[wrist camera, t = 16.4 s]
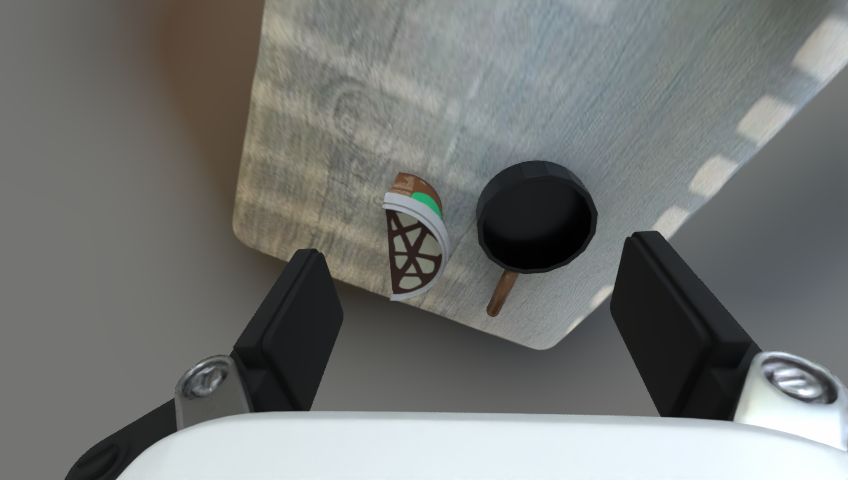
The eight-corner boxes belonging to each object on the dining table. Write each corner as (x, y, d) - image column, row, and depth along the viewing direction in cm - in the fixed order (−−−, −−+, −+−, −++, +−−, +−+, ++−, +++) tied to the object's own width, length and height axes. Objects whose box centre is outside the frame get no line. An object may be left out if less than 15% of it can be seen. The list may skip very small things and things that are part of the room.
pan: (497, 148, 37) (500, 162, 34) (606, 176, 38) (620, 193, 35) (446, 287, 49) (445, 308, 46) (531, 307, 50) (536, 329, 46)
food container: (450, 252, 46) (447, 307, 37) (402, 250, 46) (390, 304, 38) (453, 161, 39) (452, 204, 30) (398, 160, 39) (381, 202, 31)
